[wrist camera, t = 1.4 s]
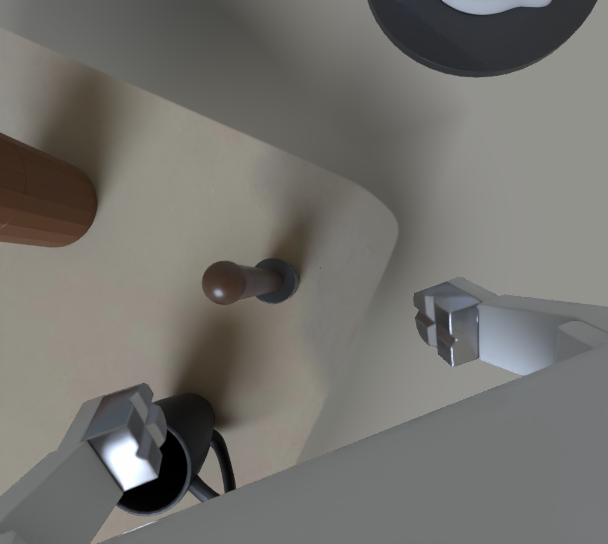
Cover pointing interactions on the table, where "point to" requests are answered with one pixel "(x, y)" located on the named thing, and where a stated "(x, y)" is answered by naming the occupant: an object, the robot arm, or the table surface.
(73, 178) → the wooden mortar
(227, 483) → the mug
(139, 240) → the table surface
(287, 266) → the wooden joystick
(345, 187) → the table surface
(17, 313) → the table surface
